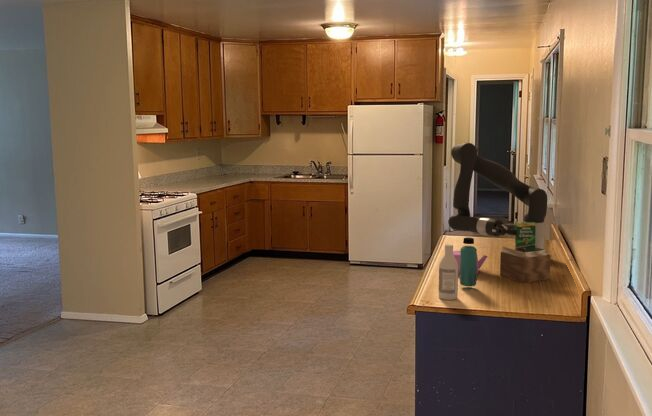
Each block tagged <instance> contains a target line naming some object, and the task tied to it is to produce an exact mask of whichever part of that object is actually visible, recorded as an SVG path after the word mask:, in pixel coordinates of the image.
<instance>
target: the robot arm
mask: <svg viewBox="0 0 652 416" xmlns="http://www.w3.org/2000/svg"><path fill="white" fill-rule="evenodd" d="M450 154H451V158H452V159H453V161H454V162H456V163H457V164H459V165H460V167H459V175H458V178H457V181H456V182H455V183H456V184H455V186H454V190H453V202H452V206H453V208H454V209H456V210H457V214H452V215H450V217H449V218H448V227H450V229H452V230H454V231H460V232H461V231H462V232H470V233H475V234H481V235H484V236H490V237H498V238H499V237H500V236H505V235H506V236H507V235H510V236H515V235H517V230H515V224H514V223H513V224H512V223H510V224H509V223H504V221H502V219H500V218H499V219H498V218H491V217H479V216H471V210H470V206H469V205H470V192H471V184H472V178H473V173H474V172H475V173H476V174H478V175H479V176H481V178H483V179H486V180H487V181H488V182H489V183H491V184H493V185H494V186H496V187H497V188H499V189H501V190H503V191H505V192H507V193H509V194H511V195H513V196H514V197H515V198H516V199H518V200H519V201H520V202H521V203H523V204H524V205H525V206H528V212H527V213H526V214H525V215H523V222H535V223H536V237H535V247H538V248H542V249H546V248H545V247H546V237H544V236H545V234H544V233H545V229H544V228H545V220H546V216H547V209H548V194H547V192H546V191H545V190H544V189H542V188H537V187H534V186H531V185H528V184H526V183H525V182H522V181H521V180H520V179H518V178H517V176H516V175H515V174H514V173H513V172H512V171H511V170H509V169H508V168H507V167H505V166H504V165H502V164H500V163H498V162H497V161H493V160H490V159H487V158H484V157H482V156H481V155H478V149H477V146H475V145H474V144H473V143H472V142H471V143H470V142H462V143H457V144H454V146H453V147H452V148H451V151H450Z"/></svg>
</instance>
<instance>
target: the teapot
mask: <svg viewBox="0 0 652 416" xmlns="http://www.w3.org/2000/svg"><path fill="white" fill-rule="evenodd" d="M460 253H461V250H453V255H454V257H455V259H456V260H457V263H458V276H460ZM487 258H488V255H485V254H484V255H483V256H481V258H480V259H479V257H478V256H477V258H476V260H477V266H476V267H477V271H476V272H477V273H476V276H478V275H479V269H481V268H482V266H483V264H484V262H485V261H486V259H487Z"/></svg>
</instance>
